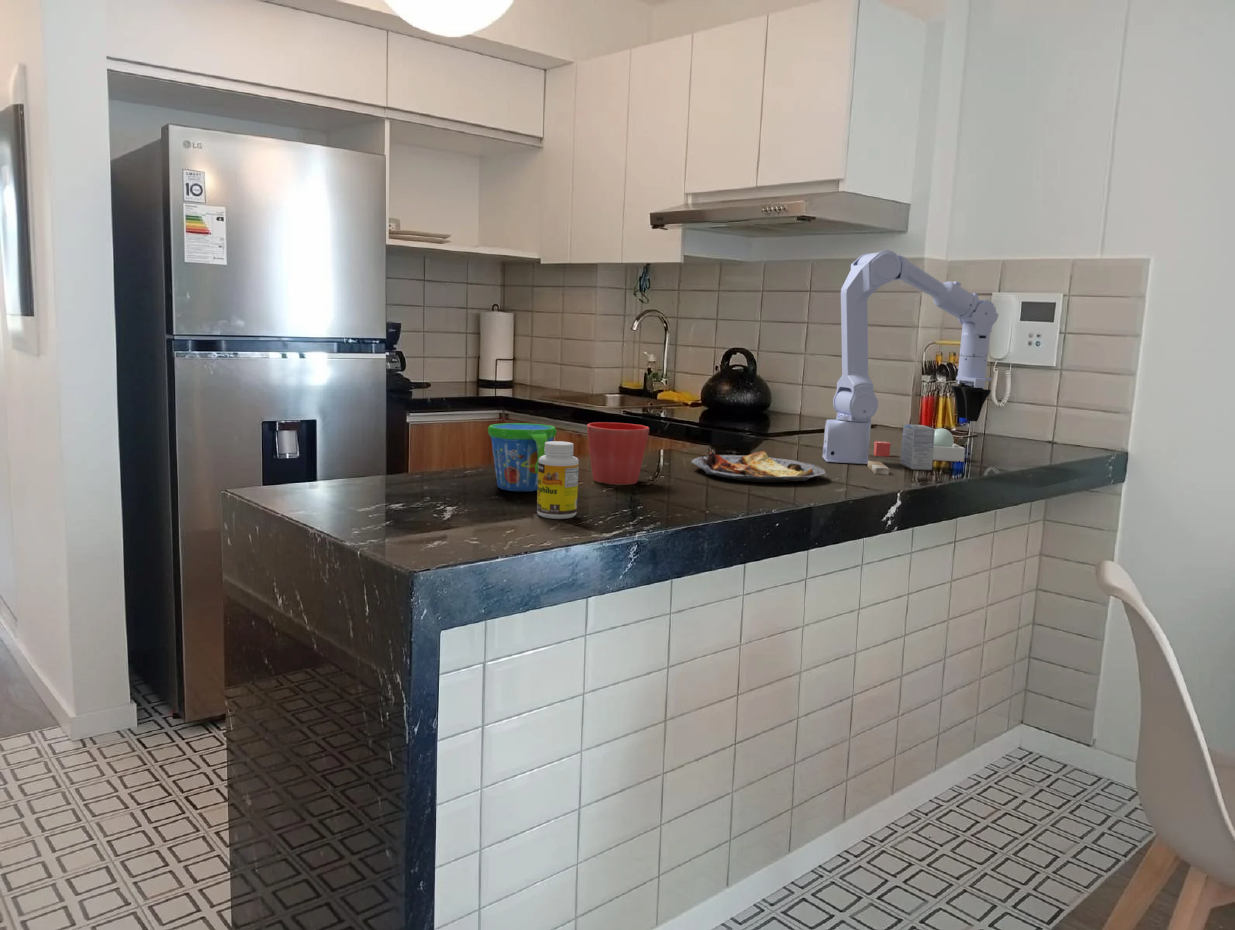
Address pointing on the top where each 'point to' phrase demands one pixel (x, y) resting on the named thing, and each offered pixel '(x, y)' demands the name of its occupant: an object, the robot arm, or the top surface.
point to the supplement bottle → (557, 481)
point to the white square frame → (949, 453)
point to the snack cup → (519, 453)
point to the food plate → (757, 467)
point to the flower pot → (616, 451)
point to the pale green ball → (943, 438)
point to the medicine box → (917, 447)
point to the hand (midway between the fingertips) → (967, 419)
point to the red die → (881, 448)
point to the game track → (878, 467)
